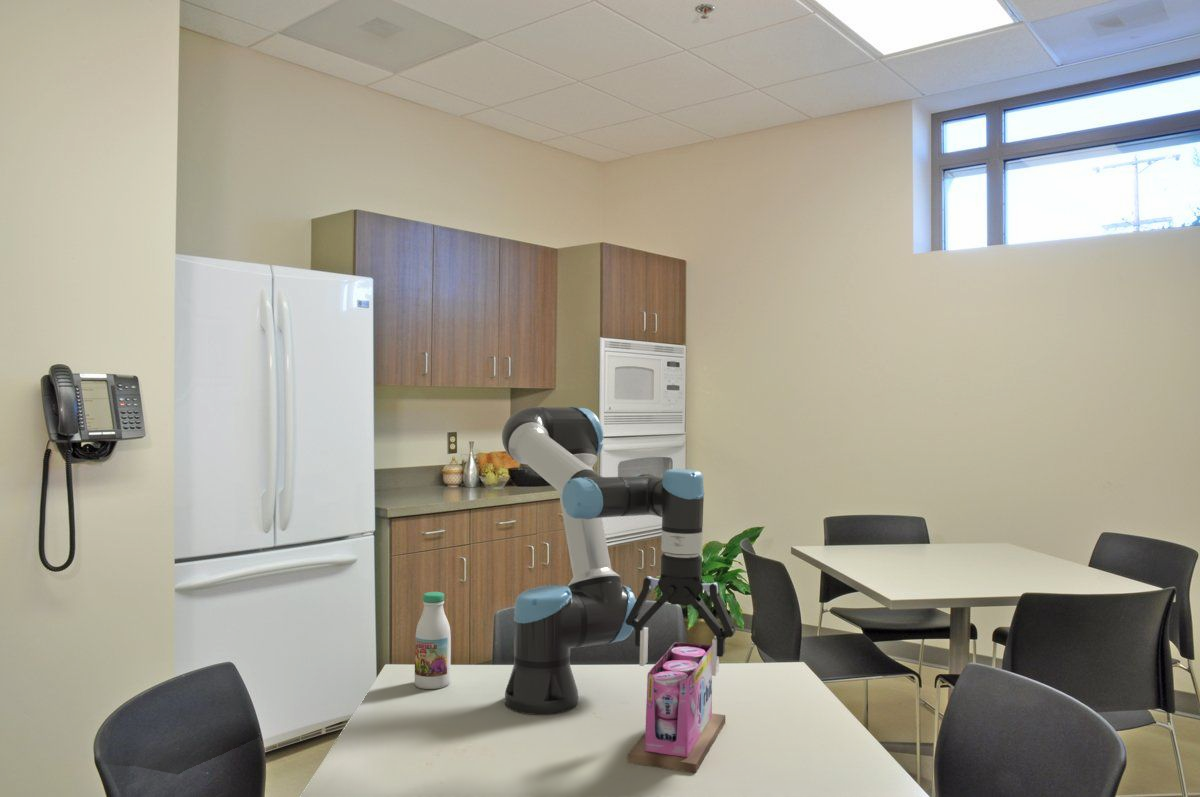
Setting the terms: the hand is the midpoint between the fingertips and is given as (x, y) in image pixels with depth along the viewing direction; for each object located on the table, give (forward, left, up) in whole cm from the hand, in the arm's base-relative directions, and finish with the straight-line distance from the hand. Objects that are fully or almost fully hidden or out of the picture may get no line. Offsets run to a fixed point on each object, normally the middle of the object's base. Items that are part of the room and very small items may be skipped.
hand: (678, 668), depth 159 cm
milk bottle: (-59, +12, -13) cm, 61 cm away
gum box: (0, 0, -12) cm, 12 cm away
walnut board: (0, 0, -13) cm, 13 cm away
